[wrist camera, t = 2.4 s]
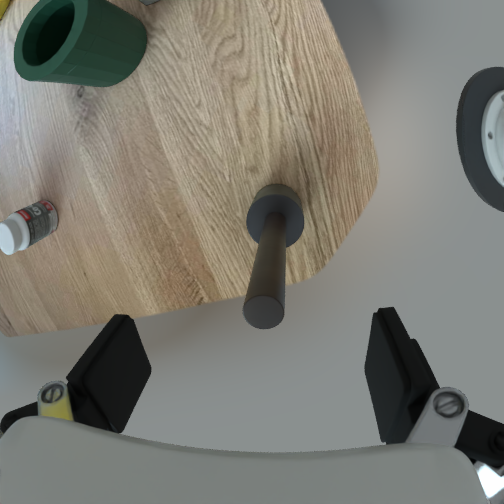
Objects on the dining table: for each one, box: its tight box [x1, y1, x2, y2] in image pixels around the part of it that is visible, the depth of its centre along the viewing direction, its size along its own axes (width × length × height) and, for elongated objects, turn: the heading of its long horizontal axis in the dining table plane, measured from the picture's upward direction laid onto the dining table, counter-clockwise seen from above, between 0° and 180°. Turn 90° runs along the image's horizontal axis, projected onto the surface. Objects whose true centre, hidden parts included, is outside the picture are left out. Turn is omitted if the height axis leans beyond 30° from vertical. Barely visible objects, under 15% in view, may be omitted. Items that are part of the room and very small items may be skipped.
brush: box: [243, 184, 304, 329], centre depth 21 cm, size 5×5×18 cm
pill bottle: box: [0, 200, 58, 255], centre depth 29 cm, size 5×5×8 cm
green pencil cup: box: [14, 0, 147, 87], centre depth 19 cm, size 9×9×11 cm
